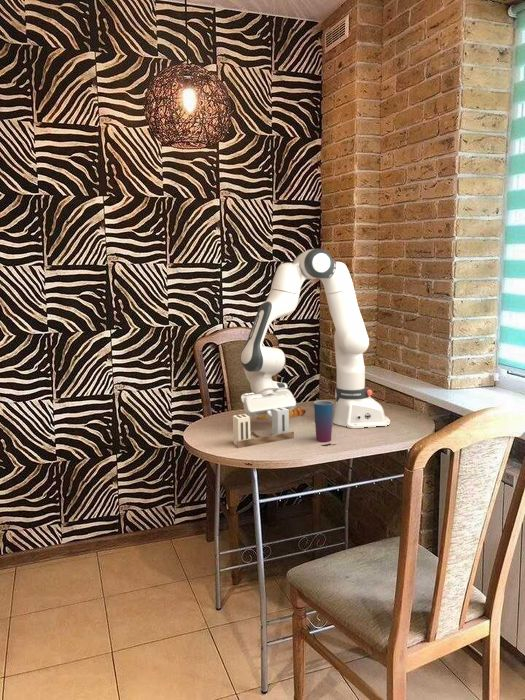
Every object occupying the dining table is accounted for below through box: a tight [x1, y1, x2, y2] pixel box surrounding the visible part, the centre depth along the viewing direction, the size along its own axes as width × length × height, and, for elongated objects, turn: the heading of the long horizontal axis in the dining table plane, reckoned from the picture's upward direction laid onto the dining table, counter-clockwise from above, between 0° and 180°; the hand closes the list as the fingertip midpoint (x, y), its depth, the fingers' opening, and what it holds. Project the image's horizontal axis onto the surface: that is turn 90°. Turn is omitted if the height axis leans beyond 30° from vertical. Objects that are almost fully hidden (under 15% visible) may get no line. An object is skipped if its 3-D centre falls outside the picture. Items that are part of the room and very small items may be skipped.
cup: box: [313, 399, 334, 447], centre depth 196 cm, size 7×7×15 cm
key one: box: [271, 407, 290, 435], centre depth 202 cm, size 4×5×10 cm
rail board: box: [236, 431, 295, 449], centre depth 200 cm, size 22×12×4 cm, turn 117°
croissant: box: [256, 407, 306, 420], centre depth 229 cm, size 21×10×8 cm, turn 110°
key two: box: [232, 413, 252, 446], centre depth 193 cm, size 4×5×10 cm
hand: (276, 422), depth 204 cm, fingers closed, pressing on key one
